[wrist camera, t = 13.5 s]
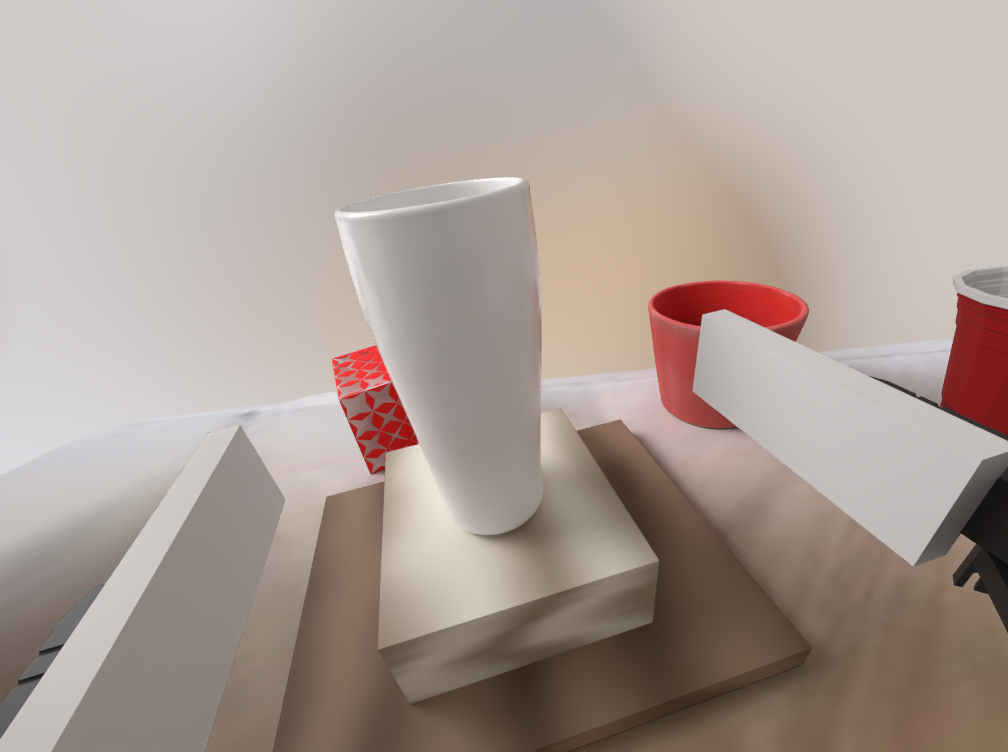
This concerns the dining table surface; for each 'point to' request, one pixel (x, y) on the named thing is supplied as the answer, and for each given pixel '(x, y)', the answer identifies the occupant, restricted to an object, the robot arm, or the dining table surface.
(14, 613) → the dining table surface
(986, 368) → the plastic cup
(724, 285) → the flower pot
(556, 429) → the display stand
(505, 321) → the drinking glass
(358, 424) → the red patterned cube
